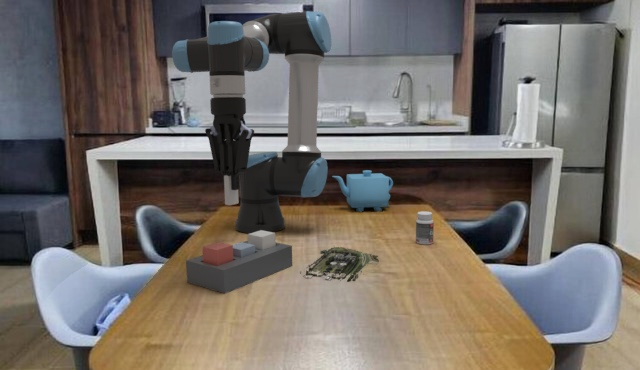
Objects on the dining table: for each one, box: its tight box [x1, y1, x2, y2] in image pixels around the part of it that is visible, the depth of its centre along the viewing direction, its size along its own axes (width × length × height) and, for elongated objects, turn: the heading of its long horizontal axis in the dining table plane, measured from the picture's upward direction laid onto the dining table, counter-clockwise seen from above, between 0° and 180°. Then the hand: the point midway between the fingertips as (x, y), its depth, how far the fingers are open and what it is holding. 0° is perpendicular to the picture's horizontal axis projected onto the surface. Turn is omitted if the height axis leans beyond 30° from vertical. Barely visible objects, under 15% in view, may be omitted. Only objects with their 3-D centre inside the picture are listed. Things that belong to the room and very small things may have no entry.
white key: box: [247, 230, 277, 250], centre depth 128 cm, size 5×5×4 cm
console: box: [185, 240, 293, 294], centre depth 123 cm, size 12×22×5 cm, turn 143°
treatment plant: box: [297, 246, 380, 282], centre depth 129 cm, size 25×18×4 cm
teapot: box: [331, 169, 394, 213], centre depth 190 cm, size 22×11×14 cm, turn 96°
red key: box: [202, 241, 233, 266], centre depth 117 cm, size 5×5×4 cm
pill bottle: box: [415, 211, 435, 246], centre depth 146 cm, size 5×5×8 cm
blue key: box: [232, 241, 255, 258], centre depth 123 cm, size 5×5×4 cm
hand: (231, 203), depth 119 cm, fingers closed
